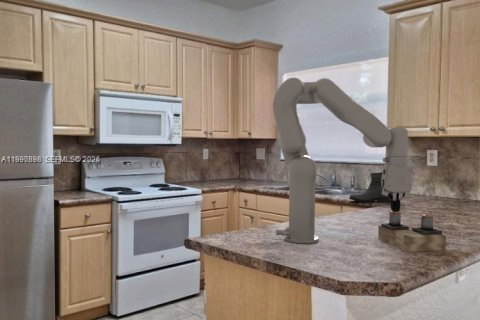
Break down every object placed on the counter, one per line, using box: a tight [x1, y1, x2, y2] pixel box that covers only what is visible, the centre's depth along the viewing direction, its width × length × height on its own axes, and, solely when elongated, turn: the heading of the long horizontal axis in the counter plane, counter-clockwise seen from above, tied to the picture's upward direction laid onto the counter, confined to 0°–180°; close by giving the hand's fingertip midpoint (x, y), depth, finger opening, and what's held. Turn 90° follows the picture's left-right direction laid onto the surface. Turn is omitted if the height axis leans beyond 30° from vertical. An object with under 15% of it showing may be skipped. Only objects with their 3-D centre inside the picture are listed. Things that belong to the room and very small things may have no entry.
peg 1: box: [388, 210, 402, 227], centre depth 158 cm, size 4×4×7 cm
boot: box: [348, 171, 391, 204], centre depth 274 cm, size 10×29×19 cm, turn 99°
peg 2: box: [420, 213, 434, 231], centre depth 151 cm, size 4×4×7 cm
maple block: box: [377, 222, 447, 253], centre depth 155 cm, size 14×20×6 cm
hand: (395, 210), depth 158 cm, fingers closed
